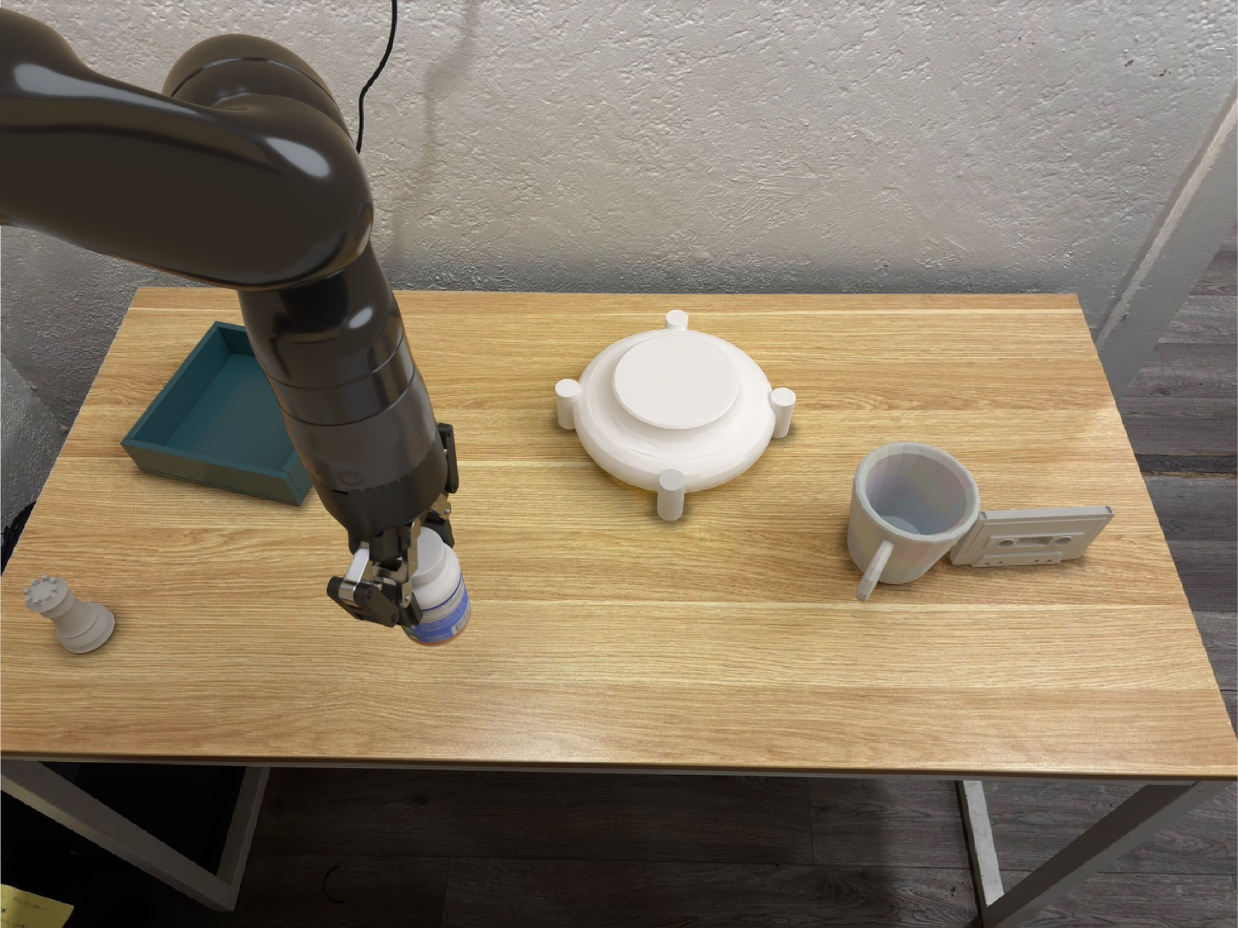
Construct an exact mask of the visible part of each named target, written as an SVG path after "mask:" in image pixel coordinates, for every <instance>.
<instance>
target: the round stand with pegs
mask: <svg viewBox="0 0 1238 928" xmlns="http://www.w3.org/2000/svg"><path fill="white" fill-rule="evenodd" d="M554 393H555V403H556V411H557V423H558V424H559V426H560V427H561V428H562V429H565V430H568V431H569V430H575V432H576V435H577V438H578V439H579V442H580V443H581V445H582V447H583V448H584V450H585V452H586V453H587V454H588V455H589V456H590V458H591V459H593V461H594V462H595V463H596V464H597V465H598V466H599V467H600V468H602V470H604V471H605V472H606V473H608V474H610V475H611V476H612V477H615V478H616V479H618V480H620V481H622V482H624V483H626V484H628V485H630V486H633V487H636V488H639V489H643V490H646V491H651V492H656V493H657V504H656V513H657V515H658V516H659V518H661V519H662V520H664V521H665V522H673V521H678V519H680V518H681V517H682V516H683V512H684V502H685V494H690V493H697V492H703V491H706V490H711V489H714V488H718V487H720V486H723V485H725V484H727V483H730V482H731V481H733V480H735V479H736V478H738V477H740V476H741V475H742V474H743V473H745V472H747V470H749V469H750V468H752V466H754V465H755V464H756V463H757V461H758V460H759V459H760V458H761V456H762V455H763V454H764V453H765V451H766V450H767V448H768V446H769V444H770V442H771V441H772V438H773V439H782V438H785V437H786V436H787V435H788V433H789V429H790V424H791V421H792V416H793V412H794V408H795V404H796V400H797V396H796V394H795V392H794V391H793V390H792V389H790V388H787V387H777V388H774V389H773V388H772V386H771V383H770V381H769V379H768V377H767V376H766V374H765V373H764V371H763V370H762V368H761V367H760V365H758V364H757V362H756V361H755V360H754V359H752V358H751V357H750V356H749V355H748V354H747V353H745V352H744V351H743V350H742V349H740V348H739V347H737V346H735V344H733V343H731V342H729V341H727V340H724V339H722V338H721V337H718V336H715V335H713V334H709V333H706V332H702V331H698V330H697V331H696V330H693V329H689V314H688V313H687V312H686V311H684V310H681V309H672V310H668V312H667V313H666V314H665V316H664V328H661V329H651V330H647V331H642V332H637V333H634V334H631V335H629V336H626V337H624V338H621V339H619V340H618V341H616V342H613V343H612V344H611V345H609V346H607V347H606V348H604V349H603V350H602V351H601V352H599V353H598V354H597V355H596V356H595V357H594V358H592V360H591V361H590V362H589V364H587V366H586V367H585V369H584V370H583V372H582V373H581V375H580V377H579V378H578V380H575V379H572V378H564V379H561V380H559V381H557V383H556V384H555V386H554Z"/></svg>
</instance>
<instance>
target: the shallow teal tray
mask: <svg viewBox="0 0 1238 928" xmlns="http://www.w3.org/2000/svg"><path fill="white" fill-rule="evenodd" d="M119 445H120V446H121V447H122V448H123V450H124V451H125V453H126V454H127V455H128V456H129V457H130V458H131V460H132V461H133V463H135V465H136V466H137V468H138V469H139V470H140V471H141V472H142V473H146V474H151V475H156V476H159V477H165V478H168V479H169V478H170V479H173V480H178V481H183V482H188V483H191V484H196V485H201V486H206V487H209V488H214V489H219V490H223V491H227V492H231V493H232V492H233V493H237V494H242V495H246V496H250V497H256V498H259V499H260V498H261V499H264V500H269V501H274V502H278V503H282V504H286V505H291V506H296V507H301V505H302V503H303V501H304V500H305V498H306V496H307V494H308V493H309V491H310V489H311V487H312V486H313V484H312V482H311V480H310V478H309V475H308V473H307V471H306V469H305V467H304V465H303V463H302V461H301V459H300V457H299V455H298V453H297V451H296V449H295V447H294V445H293V443H292V441H291V439H290V437H289V435H288V433H287V431H286V428H285V425H284V422H283V419H282V415H281V411H280V407H279V404H278V402H277V400H276V397H275V395H274V393H273V391H272V389H271V387H270V385H269V383H268V381H267V379H266V377H265V375H264V373H263V371H262V369H261V367H260V365H259V363H258V361H257V359H256V357H255V354H254V352H253V350H252V347H251V345H250V342H249V339H248V335H247V332H246V329H245V325H241V324H236V323H230V322H224V321H219V320H214V322H213V324H212V325H211V326H210V327H209V328H208V330H207V331H206V332H205V334H204V335H203V336H202V338H201V339H200V340H199V341H198V342H197V344H196V345H195V346H194V348H193V349H192V350H191V352H189V354H188V355H187V356H186V358H185V359H184V360H183V362H182V363H181V364H180V365H179V367H178V368H177V370H176V371H175V372H174V373H173V375H171V377H170V379H169V380H168V381H167V382H166V383H165V385H163V387H162V389H161V390H160V391H159V392H158V393H157V395H156V396H155V397H154V399H153V400H152V401H151V403H150V404H149V405H148V407H146V409H145V411H144V412H143V413H142V414H141V416H140V417H139V418H138V420H137V421H136V422H135V423H134V424H133V426H131V428H130V430H129V431H128V432H127V434H126V435H125V436H124V437H123V438H122V440H121V442H120V441H119Z"/></svg>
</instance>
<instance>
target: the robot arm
mask: <svg viewBox="0 0 1238 928" xmlns="http://www.w3.org/2000/svg"><path fill="white" fill-rule="evenodd" d="M374 204H375V203H374V197H373V190H372V187H371V182H370V180H369V177H368V175H367V171H366V169H365V166H364V164H363V161H362V159H361V157H360V154H359V153H358V150H357V148H356V146H355V143H354V141H353V138H352V136H351V133H350V131H349V128H348V126H347V123H346V121H345V118H344V115H343V114H342V111H341V109H340V106H339V104H338V102H337V100H336V98H335V96H334V95H333V93H332V90H331V89H330V88H329V86H328V85H327V83H326V82H325V81H324V80H323V79H322V77H321V76H320V75H319V73H318V72H317V71H316V70H315V69H314V68H313V67H312V66H311V65H310V64H309V63H308V62H307V61H305V60H304V59H303V58H302V57H301V56H299V55H298V54H296V53H295V52H294V51H292V50H290V49H289V48H287V47H285V46H283V45H282V44H279V43H277V42H275V41H273V40H269V39H266V38H263V37H260V36H256V35H251V34H244V33H225V34H220V35H219V34H218V35H215V36H211V37H208V38H205V39H203V40H201V41H199V42H198V43H196V44H195V45H193V46H191V47H190V48H189V49H187V50H186V51H185V52H184V53H183V54H181V56H180V57H179V58H178V59H177V60H176V61H175V62H174V64H173V66H172V67H171V68H170V70H169V71H168V73H167V76H166V78H165V80H164V82H163V85H162V89H161V93H160V92H158V91H154V90H151V89H148V88H145V87H141V86H139V85H136V84H132V83H129V82H126V81H123V80H120V79H117V78H114V77H111V76H108V75H105V74H102V73H100V72H97V71H95V69H93V68H91V67H89V66H88V65H87V64H86V63H84V62H83V60H81V58H80V57H79V56H78V54H77V53H76V52H75V50H74V49H73V47H72V46H71V45H70V44H69V43H68V41H67V40H66V39H65V37H63V36H62V35H61V34H60V32H58V31H57V30H55V29H54V28H53V27H51V26H50V25H48V24H46V23H45V22H42V21H40V20H39V19H36V18H34V17H32V16H28V15H26V14H24V13H20V12H18V11H14V10H11V9H7V8H4V7H1V6H0V226H1V227H13V228H20V229H25V230H29V231H32V232H36V233H39V234H41V235H45V236H48V237H50V238H54V239H57V240H59V241H62V242H65V243H68V244H70V245H74V246H76V247H78V248H82V249H84V250H87V251H91V252H93V253H97V254H100V255H103V256H107V257H110V258H115V259H119V260H122V261H125V262H128V263H132V264H135V265H138V266H142V267H145V268H148V269H152V270H155V271H158V272H162V273H164V274H168V275H171V276H175V277H177V278H178V277H179V278H182V279H185V280H189V281H192V282H196V283H201V284H205V285H208V286H212V287H217V288H221V289H227V290H234V291H236V294H237V297H238V298H237V299H238V302H239V306H240V312H241V315H242V321H243V326H245V329H246V332H247V335H248V339H249V342H250V345H251V347H252V350H253V352H254V354H255V357H256V359H257V361H258V363H259V365H260V367H261V369H262V371H263V373H264V375H265V377H266V379H267V381H268V383H269V385H270V387H271V389H272V391H273V393H274V395H275V397H276V400H277V402H278V404H279V407H280V411H281V415H282V419H283V422H284V425H285V428H286V431H287V433H288V435H289V437H290V439H291V441H292V443H293V445H294V447H295V449H296V451H297V453H298V455H299V457H300V459H301V461H302V463H303V465H304V467H305V469H306V471H307V473H308V475H309V478H310V480H311V482H312V486H313V487H314V490H315V491H316V494H317V496H318V498H319V500H320V502H321V504H322V505H323V507H324V509H325V510H326V511H327V512H328V514H329V515H330V516H331V517H332V518H334V520H336V522H338V523H339V524H340V525H341V526H342V527H343V528H344V529H345V531H346V532H347V546H348V547H347V548H348V550H349V553H350V554H351V555H352V559H351V561H350V564H349V566H348V569H347V570H346V573H345V574H343V575H342V577H341V576H337V575H333V576H332V577H331V578H329V580H328V583H327V586H326V595H327V597H329V598H330V599H331V600H332V601H334V603H336V605H338V606H339V607H340V608H341V609H343V610H344V611H345V612H346V613H348V615H350V616H351V617H352V618H353V619H355V620H357V621H361V622H364V621H365V622H369V623H373V624H377V625H381V626H383V627H385V628H390V629H393V628H394V627H395V626H399V627H401V626H403V627H407V628H411V626H412V625H414V626H418V625H419V624H420V621H421V619H422V617H423V614H422V612H421V609H420V607H419V604H418V602H417V599H416V597H415V594H414V592H412V582H411V578H412V577H413V575H414V574H415V572H416V571H417V570H418V548H417V539H418V537H419V536H420V534H421V527H426V528H429V529H431V530H433V531H435V532H436V533H437V534H438V535H439V536H440V537H441V539H442V541H443V543H445V544H447V545H448V546H449V547H450V548H451V549H452V550H453V549H454V546H455V544H456V542H455V539H454V538H455V537H454V535H453V529H452V525H451V521H450V516H451V515H452V503H450V502H449V501H448V499H449V495H450V494H452V495H456V493H457V492H458V490H459V487H460V478H459V477H460V475H459V469H458V460H457V459H458V458H457V451H456V442H455V433H454V432H455V431H454V426H453V424H451V423H447V422H442V421H441V422H440V421H437V420H436V416H435V412H434V409H433V404H432V402H431V401H432V400H431V397H430V394H429V391H428V388H427V385H426V381H425V379H424V376H423V374H422V373H421V371H420V369H419V367H418V365H417V363H416V361H415V358H414V355H413V351H412V348H411V344H410V340H409V337H408V333H407V329H406V326H405V323H404V319H403V316H402V312H401V309H400V307H399V303H398V301H397V298H396V295H395V294H394V291H393V289H392V286H391V285H390V282H389V280H388V278H387V276H386V274H385V271H384V269H383V267H382V265H381V263H380V261H379V258H378V256H377V253H376V251H375V247H374V245H373V242H372V238H371V235H372V231H373V227H374V220H375V205H374ZM400 557H401V560H400V559H397V558H400ZM384 578H387V579H391V580H393V581H395V583H396V585H393V584H388V583H384Z"/></svg>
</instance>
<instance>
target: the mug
mask: <svg viewBox="0 0 1238 928" xmlns="http://www.w3.org/2000/svg"><path fill="white" fill-rule="evenodd" d="M980 496H981V495H980V491H979V486H978V485H977V483H976V480H975V479H974V478H973V475H972V473H971V472H970V470H968V469H967V468H966V466H964V464H963V463H961V462H960V460H958V459H957V458H956V457H954V456H953V455H951V454H949V453H947V452H946V451H944V450H943V449H941V448H939V447H936V446H933V445H929V444H926V443H923V442H919V441H918V442H917V441H904V440H901V441H895V442H888V443H884V444H881V445H880V446H878V447H876V448H873V449H872V450H870V451H869V452H868V453H867V454H866V455H865V456H864V457H863V458H862V460H861V461H859V462H858V464H857V466H856V469H855V473H854V476H853V480H852V488H851V498H850V509H849V520H848V526H847V527H848V528H847V538H846V542H847V551H848V553H849V555H850V559H851V560H852V562H853V563H854V565H855V566H856V567H857V568H858V569H859V570H860V572H862V573H863V575H862V577H861V579H860V581H859V583H858V585H857V587H856V590H855V596H854V598H855V599H856V600H857V601H858V602H860V603H865V602H866V601H867V600H869V598H870V597H871V595H872V593H873V591H874V590H875V588H876V586H877V583H878V582H880V583H883V584H887V585H888V584H889V585H904V584H908V583H912V582H914V581H916V580H917V579H919V578H921V577H922V576H924V575H925V574H926V572H928V571H929V570H930V569H931V568H932V567H933V566H934V565H935V564H936V563H937V562H938V561H939V560H940V559H941V558H942V557H943V556H944V555H945V554H946V553H947V552H948V551H950V549H951V548H952V547H953V546H955V545H956V544H957V542H958V541H959V539H960V538H961V537H962V536H963V535H965V534H966V533H967V531H968V530H969V529H970V528H971V526H972V525H973V524H974V522H975V521H976V520H977V517H978V512H979V511H980V507H981V504H982V503H981V497H980Z"/></svg>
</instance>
